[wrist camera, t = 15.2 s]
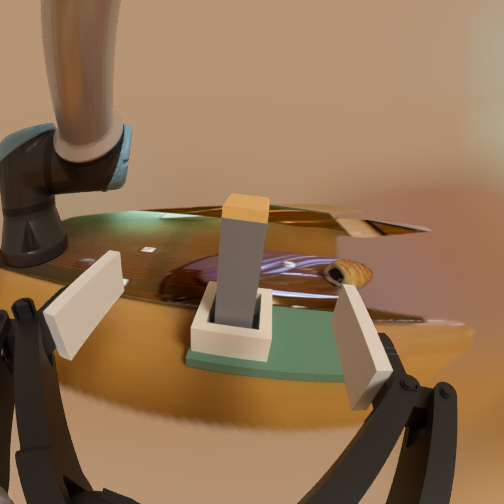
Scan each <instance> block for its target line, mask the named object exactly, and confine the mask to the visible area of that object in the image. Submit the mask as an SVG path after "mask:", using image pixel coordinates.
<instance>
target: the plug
mask: <svg viewBox="0 0 504 504" xmlns="http://www.w3.org/2000/svg"><path fill="white" fill-rule="evenodd" d="M269 201H270V198H266V197H258V196H251V195H243V194H234V193H232V194H231V195H230V197H229V198H228V199H227V200H226V202H225V203H224V205H223V209H222V221H221V233H220V245H219V259H218V273H217V288H216V305H215V324H221V325H228V326H235V327H242V328H249V329H252V323H253V316H254V310H255V303H256V297H257V290H258V283H259V277H260V270H261V263H262V256H263V250H264V243H265V236H266V229H267V222H268V215H269Z"/></svg>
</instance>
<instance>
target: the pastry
mask: <svg viewBox="0 0 504 504" xmlns="http://www.w3.org/2000/svg"><path fill="white" fill-rule="evenodd" d="M323 273H324V275H325V278H326V279H327V280H328V281H329V282H331V283H333V284H335V285H336V286H338V287H339V288H342V285H343V284H348V285H355V287H356V289H361V288H363V287H364V286H366V285H367V284H368V283H370V281H371V279H372V277H373V272H372V271H371V270H370V269H369V268H368V267H367V266H366V265H365V264H362V263H359V262H355V261H351V260H346V259H342V260H335V261H334V262H332V263H331V264H330V265H328V266H327V267H326V268H325V269H324V272H323Z"/></svg>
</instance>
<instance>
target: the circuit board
mask: <svg viewBox="0 0 504 504" xmlns="http://www.w3.org/2000/svg"><path fill="white" fill-rule="evenodd" d="M332 315H333V312H325V311H315V310H305V309H296V308H287V307H278V306H272V341H271V346H270V350H269V355H268V359H267V362H263V361H254V360H246V359H239V358H232V357H225V356H219V355H212V354H207V353H201V352H195V351H191V344H190V347H189V349H188V352H187V355H186V366H189V367H194V368H199V369H205V370H211V371H217V372H223V373H230V374H237V375H244V376H252V377H261V378H271V379H282V380H295V381H313V382H345V380H344V375H343V371H342V367H341V363H340V359H339V354H338V350H337V346H336V343H335V339H334V335H333V331H332V327H331V323H330V321H331V318H332ZM212 323H215V315H214V318H213V322H212ZM257 323H258V315H255V314H254V316H253V323H252V329H257Z"/></svg>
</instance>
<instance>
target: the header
mask: <svg viewBox="0 0 504 504" xmlns="http://www.w3.org/2000/svg"><path fill="white" fill-rule="evenodd" d="M216 288H217V282H213V281H209V283H208V286H207V288H206V291H205V293H204V295H203V298H202V300H201V303H200V305H199V308H198V310H197V313H196V315H195V318H194V321H193V323H192V326H191V351H195V352H201V353H207V354H212V355H219V356H225V357H232V358H239V359H246V360H254V361H263V362H267V359H268V355H269V350H270V346H271V341H272V290H271V289H263V288H258V290H257V297H256V303H255V310H254V314H255V315H258V323H257V329H249V328H242V327H235V326H228V325H221V324H215V323H212V322H213V318H214V315H215V305H216Z"/></svg>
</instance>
